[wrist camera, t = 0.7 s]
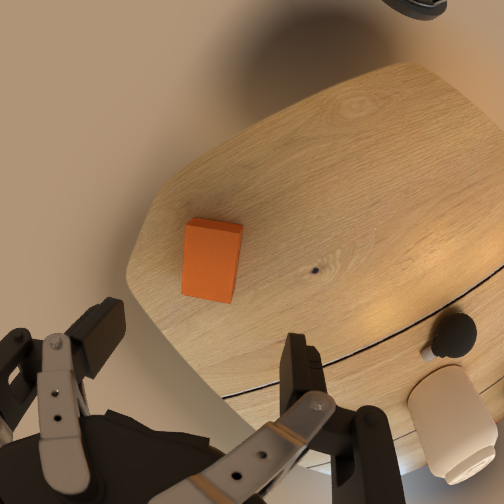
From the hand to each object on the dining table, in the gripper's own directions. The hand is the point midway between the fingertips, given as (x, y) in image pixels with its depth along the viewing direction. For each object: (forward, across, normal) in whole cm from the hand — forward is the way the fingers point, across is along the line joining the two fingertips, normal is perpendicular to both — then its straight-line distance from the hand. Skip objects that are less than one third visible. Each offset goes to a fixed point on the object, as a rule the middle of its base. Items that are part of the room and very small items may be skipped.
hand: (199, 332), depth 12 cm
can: (+19, -38, +23) cm, 48 cm away
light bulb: (+19, -31, +10) cm, 38 cm away
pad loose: (+19, +3, +4) cm, 19 cm away
